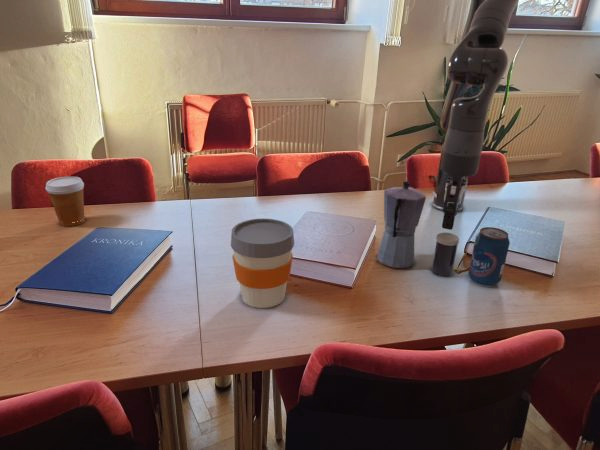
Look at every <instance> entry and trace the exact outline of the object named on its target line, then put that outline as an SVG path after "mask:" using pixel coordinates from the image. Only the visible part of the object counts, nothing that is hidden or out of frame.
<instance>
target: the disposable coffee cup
mask: <svg viewBox="0 0 600 450" xmlns="http://www.w3.org/2000/svg"><path fill="white" fill-rule="evenodd" d="M84 187H85V182H84V181H83V179H82V178H81V177H78V176H61V177H56V178H52V179H50V180H48V181H47V182H46V183H45V187H44V189H45V191H46V192H47V193H48V195H49V198H50V201H51V204H52V207H53V210H54V212H55V215H56V217H57V220H58V222H59V221H60V222H59V225H60V226H62V227H75V226H79V225H81V224H83V223H85V220H86V219H85V203H84V202H85V200H84V197H85V196H84ZM83 218H84V219H83ZM82 219H83V220H82ZM80 220H81V221H80ZM77 221H78V222H77ZM61 222H62V223H61ZM72 222H75V223H72Z"/></svg>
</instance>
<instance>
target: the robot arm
mask: <svg viewBox="0 0 600 450" xmlns="http://www.w3.org/2000/svg"><path fill="white" fill-rule="evenodd" d="M518 2H519V0H470V5H469V10H468V13H467V18H466V21H465V24H464V28H463V31H462V35H461V39H460V41H459V43H458V45H457V46H456V47H455V48H454V50H453V51H452V53H451V55H450V57H449V60H448V62H447V66H446V67H447V69H446V70H447V76H448V78H449V80H450V84H449V88H448V91H447V94H446V96H445V97H446V98H445V100H444V103H443V106H442V109H441V114H440V122H439V123H440V128H441V130H442V131H445V132H446V133H445V137H444V143H442V145H441V147H440V149H441V150H440V155H439V161H438V169H437V175H436V176H435V175H434V174H433V176H431V174H429V176H428V177H429V178H433V180H434V183H435V187H434V188H435V189H434V190H433V192H432V196H433V199H432V200H433V201H432V207H433V208H435V209H437V210H439V211H442V212H443V219H442V225H441V227H442V229H443V230H450V231H451V230H453V229H454V224H455V220H456V216H457V215H458V213H459V212H460V211H462V210H464V202H465V198H466V192H467V187H468V182H469V177H473V176H475V175H477V174H478V172H479V168H480V163H481V162H480V161H481V156H482V152H483V146H484V141H485V129H486V124H487V119H488V114H489V110H490V106H491V103H492V101H493V97H494V96H495V93H496V91H497V89H498V87H499V85H500V84H501V82H502V80H503V77H504V76H505V74H506V72H507V69H508V65H509V57H508V54H507V51H506V50H505V49H504V48H502V46H503V44H504V42H505V39H506V35H507V32H508V29H509V25H510V21H511V18H512V15H513V13H514V10H515V8H516V6H517V4H518ZM473 86H477V87H479V86H481V90H480V91H479V92H478V93H477V94H474V95H468V96H464V94H465V93H466V92H467V91H468V90H469V89H470V88H471V87H473Z"/></svg>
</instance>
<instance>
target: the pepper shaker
mask: <svg viewBox="0 0 600 450" xmlns="http://www.w3.org/2000/svg"><path fill="white" fill-rule="evenodd" d="M459 242H460V237H459V236H458V235H456V234H454V233H452V232H439V233H437V235H436V242H435V246H434V247H435V248H434V254H433V259H432V260H433V261H432V266H431V272H432V273H433V274H434V275H436V276H439V277H450V276H452V275H453V271H454V266H455V261H456V255H457V250H458V244H459Z"/></svg>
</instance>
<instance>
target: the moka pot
mask: <svg viewBox="0 0 600 450" xmlns="http://www.w3.org/2000/svg"><path fill="white" fill-rule="evenodd" d="M402 183H403V184H402V185H403V187H401V186H400V187H399V186H398V187H397V186H393V187H390V188H386V189H384V190H383V200H384V201H383V209H384V210H383V220H384V232H383V235H382V238H381V240H380V241H381V242H380V245H379V248H378V253H377V256H376V260H377V261H378V262H379V263H380V264H382V265H384V266H387V267H389V268H394V269H406V268H410V267H412V266H414V262H415V233H416V228H417V227H418V226H419V223H420V219H421V216H422V212H423V210H424V206H425V203H426V199H427V196H426V195H425V194H424V193H423V191H420V190H417V189H414V187H411V186H410V184H411V182H409V181H407V180H405V181H403V182H402Z"/></svg>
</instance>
